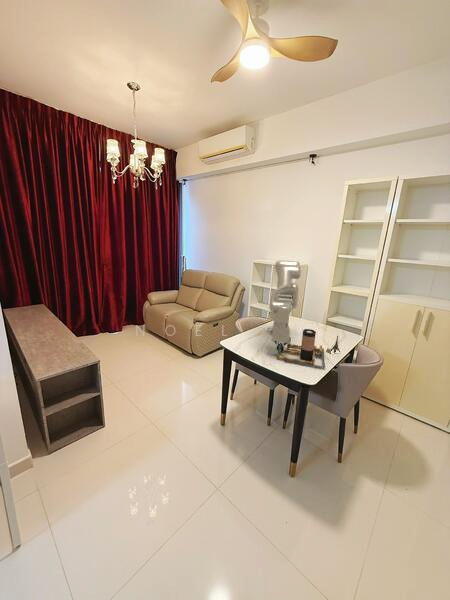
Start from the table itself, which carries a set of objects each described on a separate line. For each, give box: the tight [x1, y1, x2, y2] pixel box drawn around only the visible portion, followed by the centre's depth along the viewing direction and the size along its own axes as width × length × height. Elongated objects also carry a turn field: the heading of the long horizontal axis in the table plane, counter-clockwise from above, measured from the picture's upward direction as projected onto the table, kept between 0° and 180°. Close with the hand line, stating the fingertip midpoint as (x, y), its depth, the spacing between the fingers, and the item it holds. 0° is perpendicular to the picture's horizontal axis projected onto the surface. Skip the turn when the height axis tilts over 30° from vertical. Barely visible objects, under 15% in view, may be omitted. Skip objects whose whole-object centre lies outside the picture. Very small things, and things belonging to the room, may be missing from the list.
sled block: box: [286, 336, 323, 356], centre depth 166 cm, size 22×9×8 cm, turn 70°
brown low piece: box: [276, 342, 316, 365], centre depth 156 cm, size 22×12×8 cm, turn 70°
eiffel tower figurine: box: [325, 335, 341, 355], centre depth 168 cm, size 15×10×13 cm
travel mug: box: [299, 328, 317, 362], centre depth 152 cm, size 8×8×20 cm
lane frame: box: [283, 347, 326, 371], centre depth 160 cm, size 24×26×2 cm
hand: (279, 350), depth 159 cm, fingers closed on brown low piece
